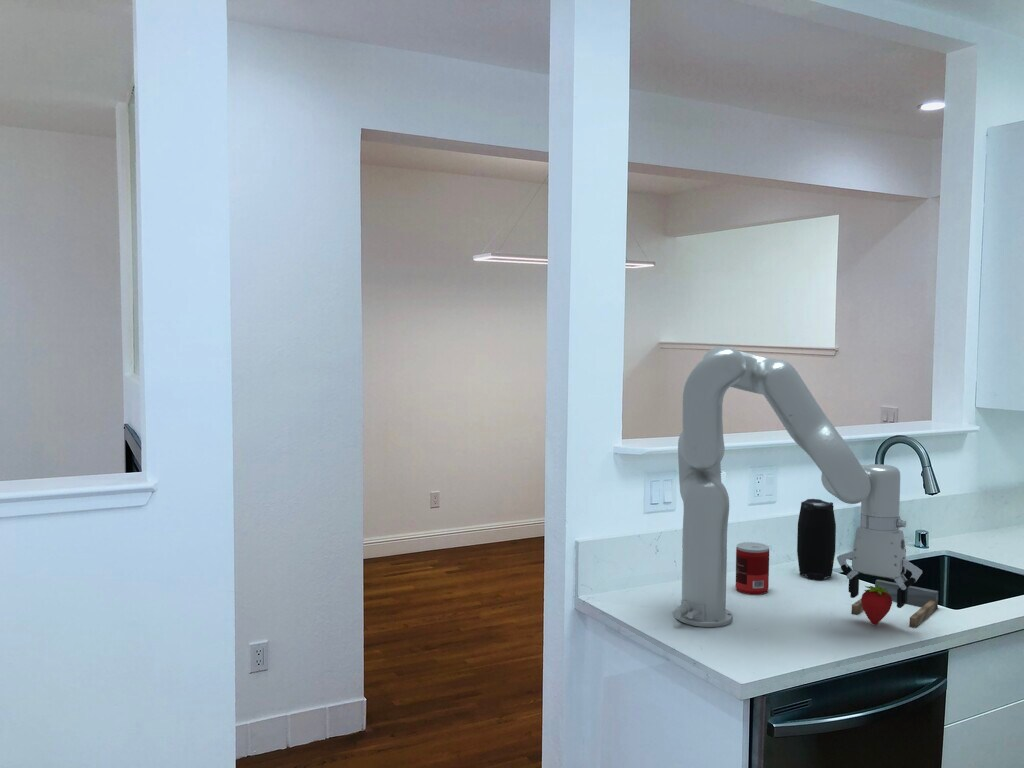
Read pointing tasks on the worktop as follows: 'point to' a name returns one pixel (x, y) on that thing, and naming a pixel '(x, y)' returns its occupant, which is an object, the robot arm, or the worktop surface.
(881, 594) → the strawberry
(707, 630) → the worktop surface
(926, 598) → the frame
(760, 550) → the canned food
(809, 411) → the robot arm
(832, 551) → the portable speaker
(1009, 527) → the worktop surface
